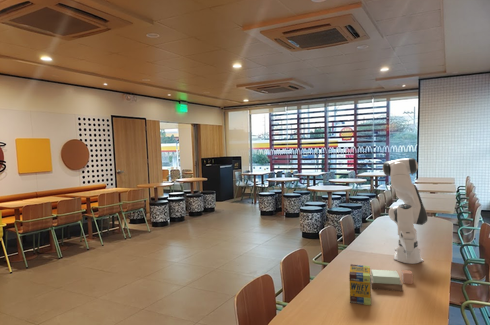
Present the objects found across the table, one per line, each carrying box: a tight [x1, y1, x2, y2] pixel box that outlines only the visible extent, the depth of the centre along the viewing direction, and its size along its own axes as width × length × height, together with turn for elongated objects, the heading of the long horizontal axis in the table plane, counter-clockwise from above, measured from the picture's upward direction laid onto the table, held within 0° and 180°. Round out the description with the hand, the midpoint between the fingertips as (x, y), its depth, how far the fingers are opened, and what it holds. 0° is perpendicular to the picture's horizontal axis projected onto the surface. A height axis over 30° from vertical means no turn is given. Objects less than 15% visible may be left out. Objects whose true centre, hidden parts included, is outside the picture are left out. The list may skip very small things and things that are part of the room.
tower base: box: [370, 274, 404, 292], centre depth 189 cm, size 12×16×4 cm
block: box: [401, 269, 414, 285], centre depth 193 cm, size 5×5×6 cm
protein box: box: [348, 263, 372, 306], centre depth 175 cm, size 10×15×16 cm
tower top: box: [370, 269, 401, 284], centre depth 188 cm, size 10×14×4 cm
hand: (406, 255), depth 192 cm, fingers open, 8 cm apart
